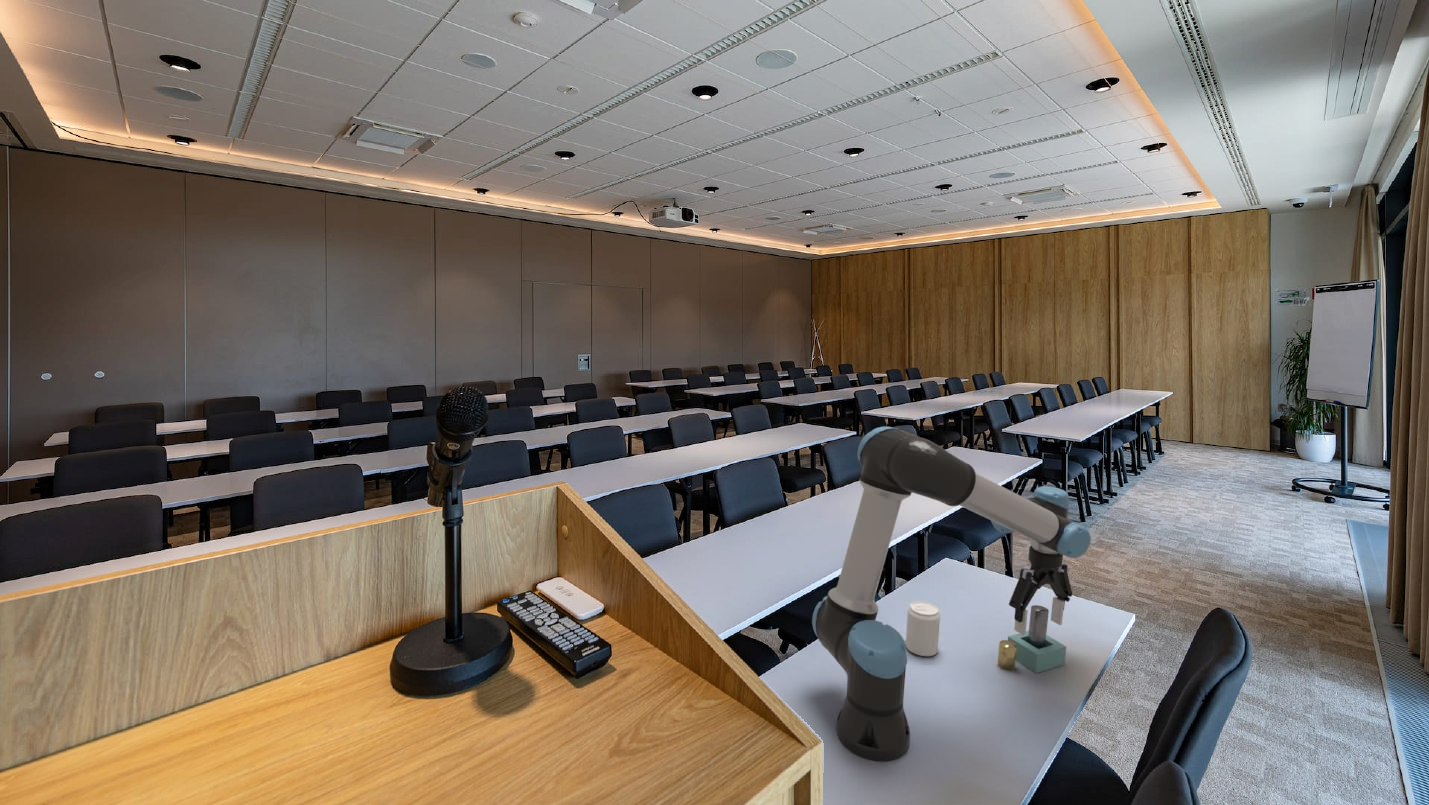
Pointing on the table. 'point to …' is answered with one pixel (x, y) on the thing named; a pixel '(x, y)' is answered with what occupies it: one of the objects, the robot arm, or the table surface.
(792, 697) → the table surface
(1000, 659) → the short pin
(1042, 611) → the long pin
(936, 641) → the beverage can
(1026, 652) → the hole block
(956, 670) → the table surface
